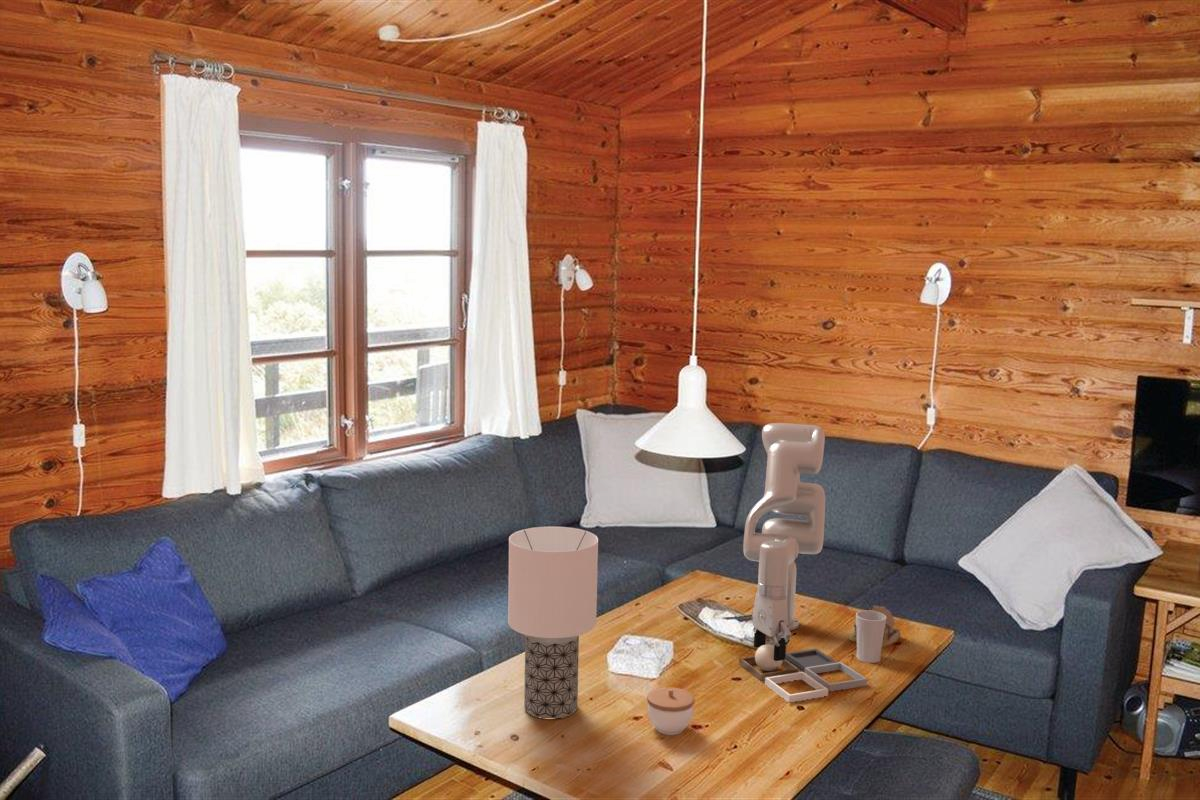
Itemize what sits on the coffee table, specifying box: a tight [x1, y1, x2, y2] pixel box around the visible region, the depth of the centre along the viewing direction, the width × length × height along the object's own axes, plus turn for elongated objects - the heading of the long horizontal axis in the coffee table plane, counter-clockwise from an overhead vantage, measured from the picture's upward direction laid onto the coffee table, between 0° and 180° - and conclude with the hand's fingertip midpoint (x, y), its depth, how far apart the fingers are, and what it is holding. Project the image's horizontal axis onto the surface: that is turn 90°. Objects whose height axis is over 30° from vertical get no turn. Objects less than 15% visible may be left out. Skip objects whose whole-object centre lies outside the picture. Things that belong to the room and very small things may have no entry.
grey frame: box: [804, 661, 868, 692], centre depth 267 cm, size 11×11×2 cm
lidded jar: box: [646, 686, 695, 736], centre depth 237 cm, size 11×11×9 cm
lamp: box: [507, 526, 599, 719], centre depth 244 cm, size 21×21×42 cm
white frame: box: [764, 671, 829, 704], centre depth 260 cm, size 11×11×2 cm
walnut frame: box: [738, 655, 800, 682], centre depth 272 cm, size 11×11×2 cm
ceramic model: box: [848, 604, 901, 647], centre depth 295 cm, size 14×11×10 cm
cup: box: [855, 609, 886, 664], centre depth 280 cm, size 8×8×12 cm
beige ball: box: [754, 643, 783, 672], centre depth 271 cm, size 7×7×7 cm
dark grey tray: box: [785, 648, 839, 672], centre depth 277 cm, size 10×10×2 cm
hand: (769, 653), depth 270 cm, fingers open, 9 cm apart
